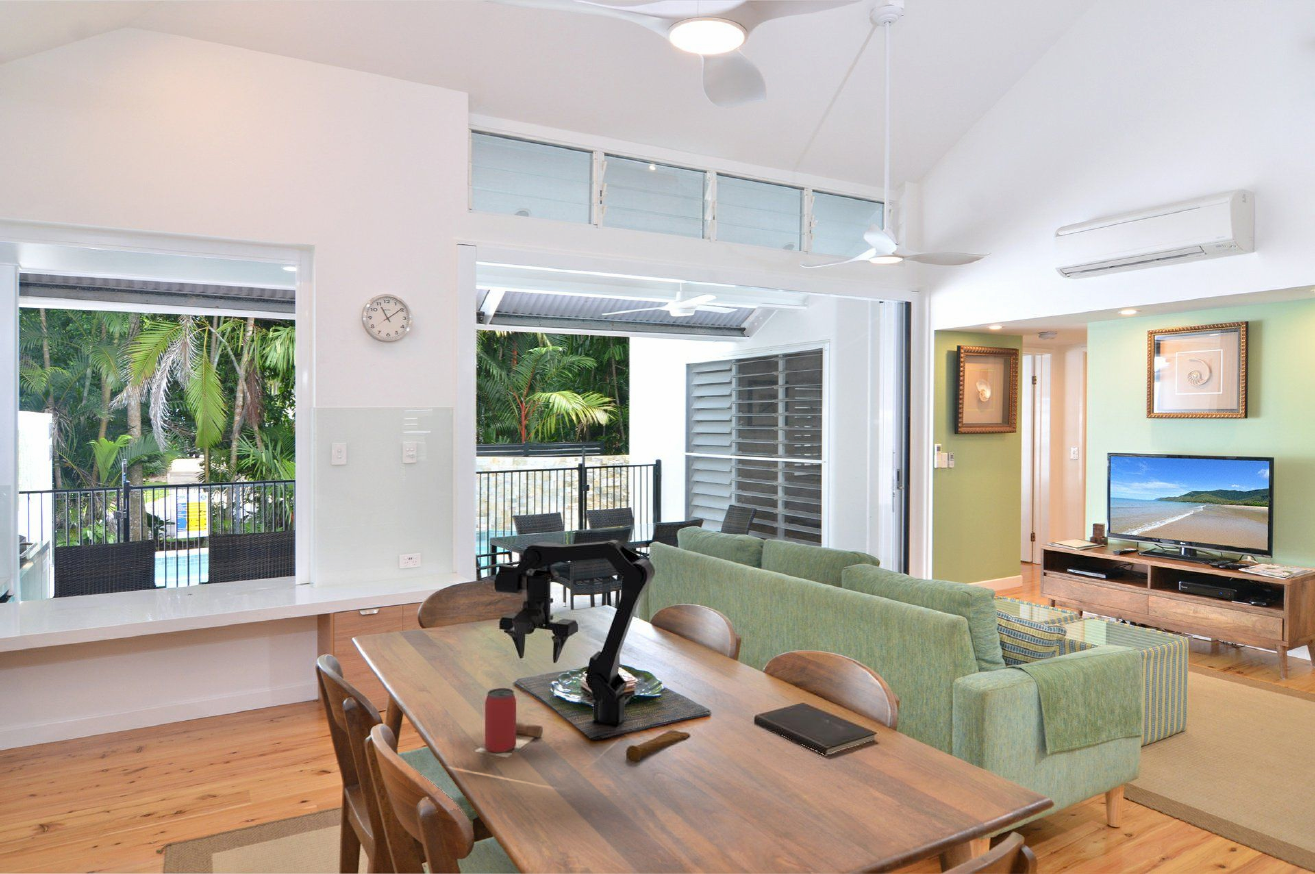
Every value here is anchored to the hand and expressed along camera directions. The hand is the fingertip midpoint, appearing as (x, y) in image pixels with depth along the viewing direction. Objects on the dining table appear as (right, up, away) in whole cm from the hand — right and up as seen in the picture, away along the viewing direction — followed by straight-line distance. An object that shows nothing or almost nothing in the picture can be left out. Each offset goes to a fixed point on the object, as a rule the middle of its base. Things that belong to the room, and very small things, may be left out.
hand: (538, 660), depth 196 cm
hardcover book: (+64, -15, -9) cm, 66 cm away
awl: (-3, -13, -12) cm, 18 cm away
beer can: (-5, -13, -21) cm, 25 cm away
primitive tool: (+29, -14, -18) cm, 37 cm away
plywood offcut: (-4, -13, -17) cm, 22 cm away
